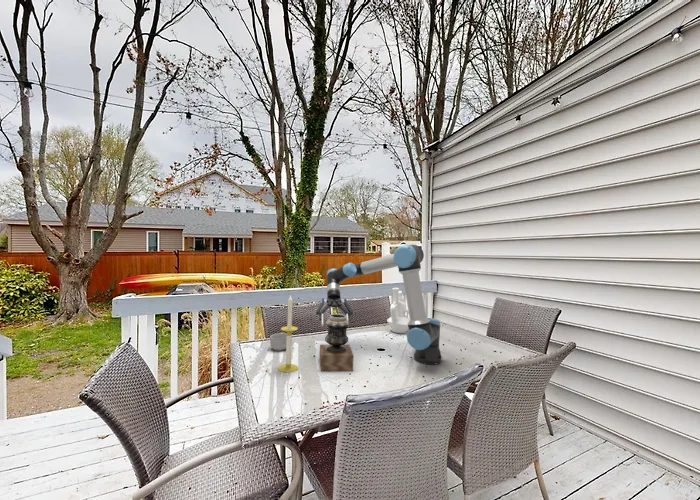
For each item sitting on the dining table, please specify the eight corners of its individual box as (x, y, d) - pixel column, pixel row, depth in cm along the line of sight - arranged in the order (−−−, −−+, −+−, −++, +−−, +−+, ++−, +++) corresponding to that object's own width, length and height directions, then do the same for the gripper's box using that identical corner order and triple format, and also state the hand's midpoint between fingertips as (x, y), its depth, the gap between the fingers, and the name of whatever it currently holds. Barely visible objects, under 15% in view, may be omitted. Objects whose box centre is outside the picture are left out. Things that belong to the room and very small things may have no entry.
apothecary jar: (352, 350, 180) (354, 315, 179) (336, 355, 171) (337, 319, 170) (336, 344, 188) (337, 311, 187) (319, 349, 179) (321, 314, 178)
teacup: (284, 353, 194) (284, 339, 194) (266, 351, 196) (266, 337, 196) (293, 345, 208) (293, 332, 207) (276, 343, 210) (276, 330, 209)
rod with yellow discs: (289, 374, 166) (291, 296, 164) (273, 369, 171) (275, 294, 169) (302, 367, 175) (304, 294, 173) (287, 363, 180) (289, 291, 178)
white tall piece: (416, 332, 245) (419, 287, 243) (398, 338, 230) (400, 290, 228) (396, 326, 258) (398, 284, 256) (377, 332, 242) (379, 286, 241)
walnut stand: (348, 358, 189) (349, 344, 189) (352, 370, 173) (353, 355, 173) (319, 359, 187) (319, 344, 187) (320, 371, 171) (321, 355, 171)
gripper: (354, 296, 204) (357, 329, 191) (311, 295, 201) (311, 328, 187) (355, 289, 199) (359, 322, 185) (312, 288, 195) (312, 321, 182)
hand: (335, 325), depth 186 cm, fingers open, 13 cm apart
